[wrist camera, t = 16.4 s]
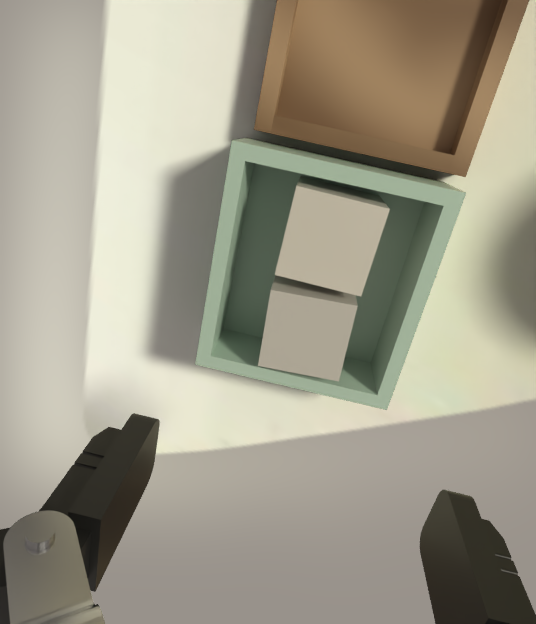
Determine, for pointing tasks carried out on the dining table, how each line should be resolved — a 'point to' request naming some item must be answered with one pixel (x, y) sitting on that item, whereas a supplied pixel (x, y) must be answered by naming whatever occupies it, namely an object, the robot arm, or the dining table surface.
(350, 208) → the stone
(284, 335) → the stone
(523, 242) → the dining table surface
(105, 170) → the dining table surface
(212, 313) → the bin
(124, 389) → the dining table surface
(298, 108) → the tray
